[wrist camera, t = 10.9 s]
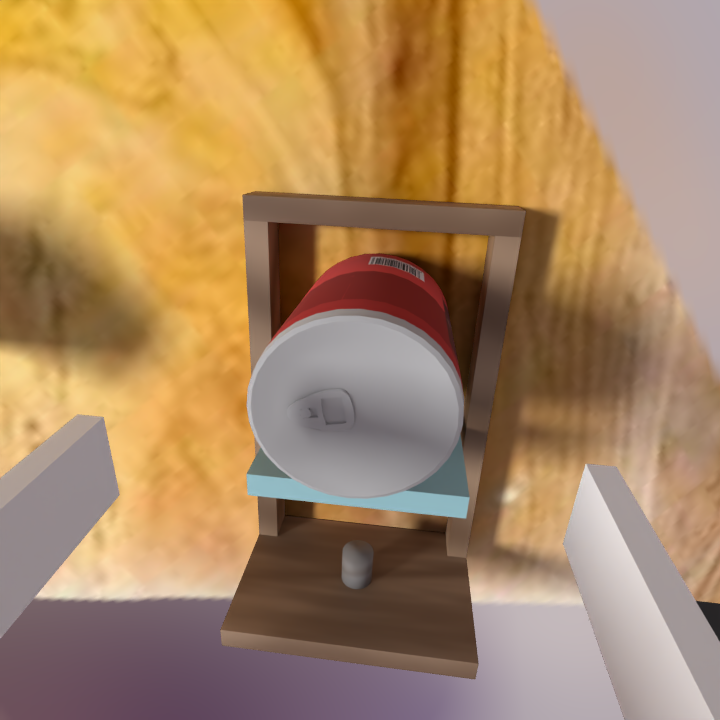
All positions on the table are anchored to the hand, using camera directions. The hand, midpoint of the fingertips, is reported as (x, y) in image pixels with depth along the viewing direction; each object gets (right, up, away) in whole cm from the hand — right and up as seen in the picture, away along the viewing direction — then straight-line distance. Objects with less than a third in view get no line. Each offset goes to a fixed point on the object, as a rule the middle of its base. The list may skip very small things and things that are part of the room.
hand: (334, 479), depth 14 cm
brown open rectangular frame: (+1, +1, +16) cm, 16 cm away
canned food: (+2, +6, +14) cm, 15 cm away
